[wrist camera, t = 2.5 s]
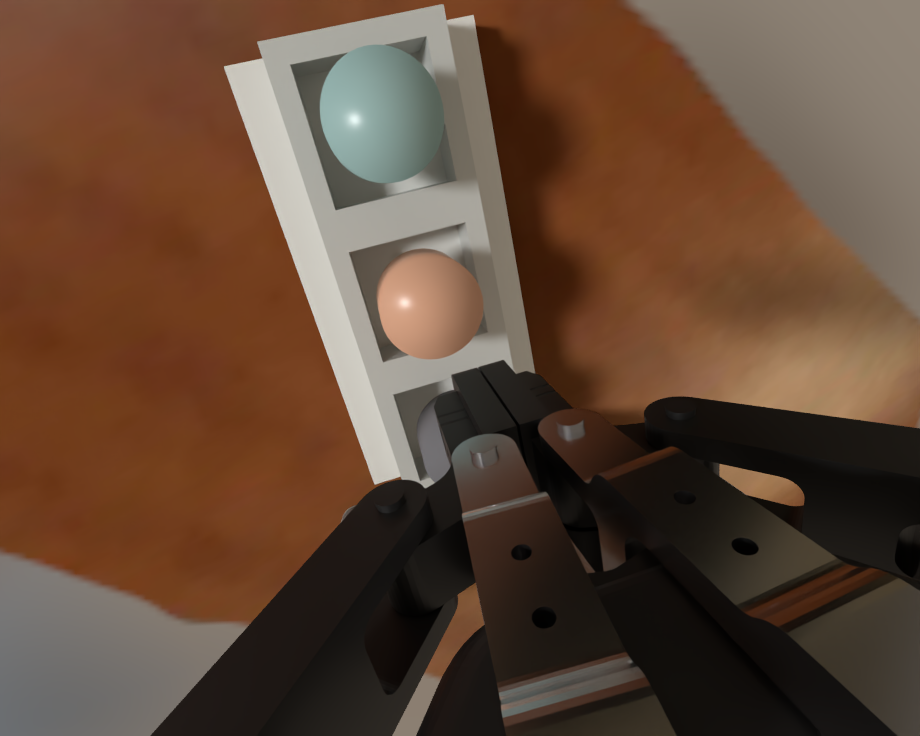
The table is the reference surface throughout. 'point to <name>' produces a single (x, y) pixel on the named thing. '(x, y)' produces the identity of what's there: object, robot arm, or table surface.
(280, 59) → the button board
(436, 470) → the charcoal button
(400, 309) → the terracotta button
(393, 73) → the teal button
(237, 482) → the table surface
